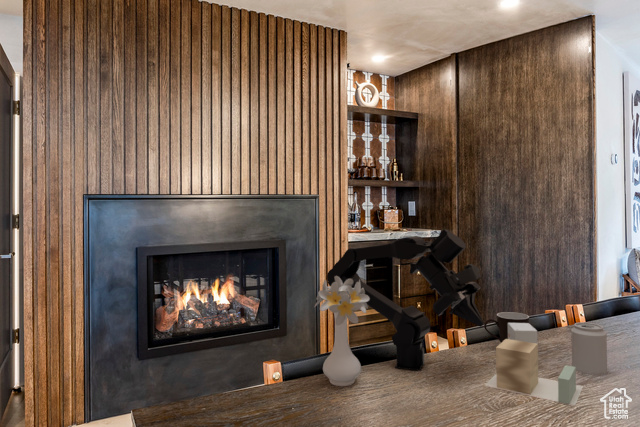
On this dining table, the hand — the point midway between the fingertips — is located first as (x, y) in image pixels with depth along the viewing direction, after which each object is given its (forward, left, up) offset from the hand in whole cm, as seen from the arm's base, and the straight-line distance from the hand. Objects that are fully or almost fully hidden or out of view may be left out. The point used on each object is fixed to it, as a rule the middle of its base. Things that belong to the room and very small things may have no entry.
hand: (482, 325), depth 105 cm
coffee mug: (+6, +28, -14) cm, 32 cm away
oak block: (+7, -2, -13) cm, 15 cm away
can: (+24, +14, -14) cm, 31 cm away
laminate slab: (+11, -2, -14) cm, 17 cm away
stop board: (+17, -5, -13) cm, 22 cm away
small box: (+9, +14, -14) cm, 22 cm away
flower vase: (-32, -10, -14) cm, 36 cm away
